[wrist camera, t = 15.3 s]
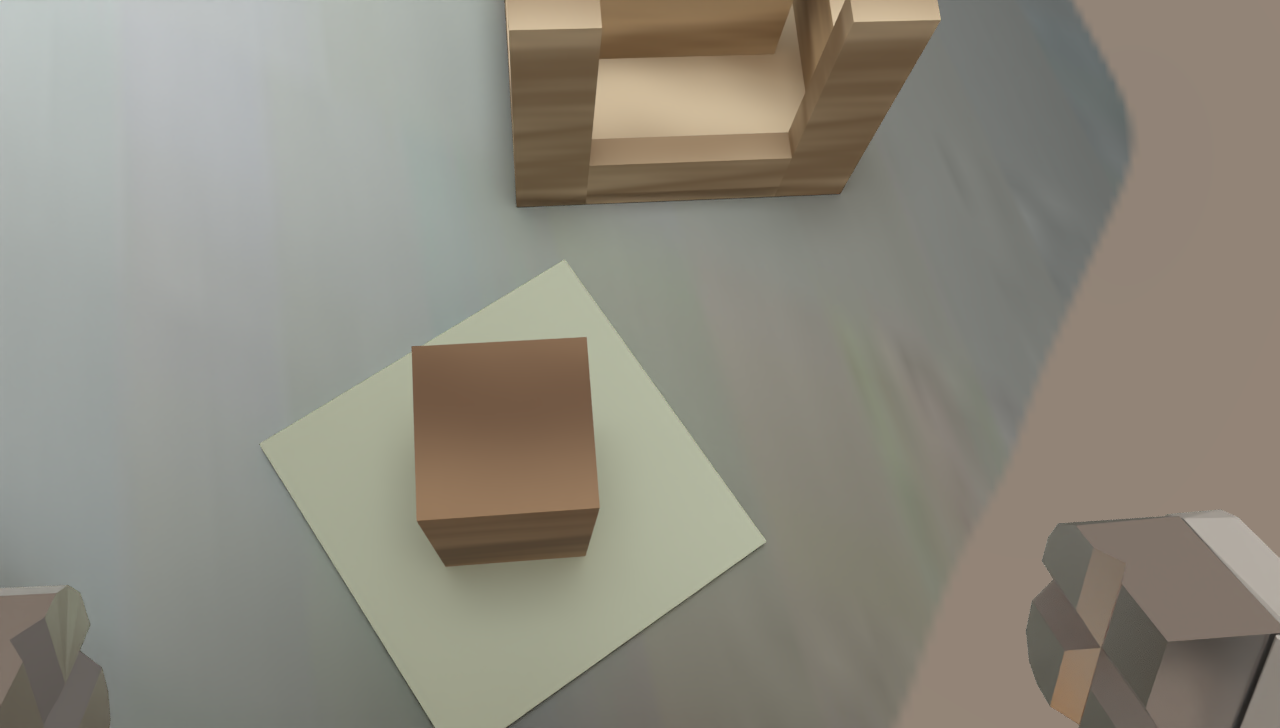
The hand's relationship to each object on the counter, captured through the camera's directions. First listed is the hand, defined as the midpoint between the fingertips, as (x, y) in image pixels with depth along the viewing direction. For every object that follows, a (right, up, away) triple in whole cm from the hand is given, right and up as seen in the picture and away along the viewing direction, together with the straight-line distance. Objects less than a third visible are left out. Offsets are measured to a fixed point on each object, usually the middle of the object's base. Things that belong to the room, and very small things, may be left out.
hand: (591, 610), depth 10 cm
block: (-4, -2, +27) cm, 28 cm away
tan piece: (+1, +14, +33) cm, 36 cm away
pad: (-4, -2, +28) cm, 28 cm away
